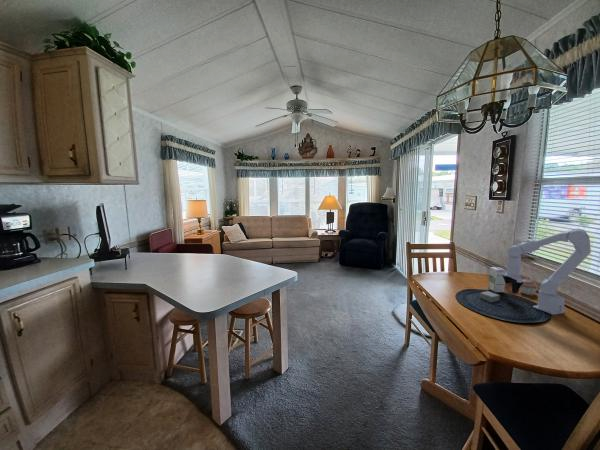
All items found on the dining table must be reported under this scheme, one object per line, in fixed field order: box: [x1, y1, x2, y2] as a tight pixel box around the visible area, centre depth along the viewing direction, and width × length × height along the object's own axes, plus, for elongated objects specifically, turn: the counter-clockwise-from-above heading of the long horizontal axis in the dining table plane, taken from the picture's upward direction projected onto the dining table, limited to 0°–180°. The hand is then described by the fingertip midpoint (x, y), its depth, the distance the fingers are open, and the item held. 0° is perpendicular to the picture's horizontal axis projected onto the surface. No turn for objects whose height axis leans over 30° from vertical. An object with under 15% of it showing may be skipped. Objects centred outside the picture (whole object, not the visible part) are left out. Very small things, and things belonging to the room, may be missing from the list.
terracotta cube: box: [503, 283, 520, 296], centre depth 144 cm, size 4×4×5 cm
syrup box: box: [488, 266, 506, 293], centre depth 159 cm, size 6×6×14 cm
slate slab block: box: [479, 290, 501, 303], centre depth 147 cm, size 6×6×4 cm
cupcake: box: [519, 277, 539, 296], centre depth 154 cm, size 9×9×10 cm
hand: (511, 290), depth 144 cm, fingers closed on terracotta cube, 6 cm apart
